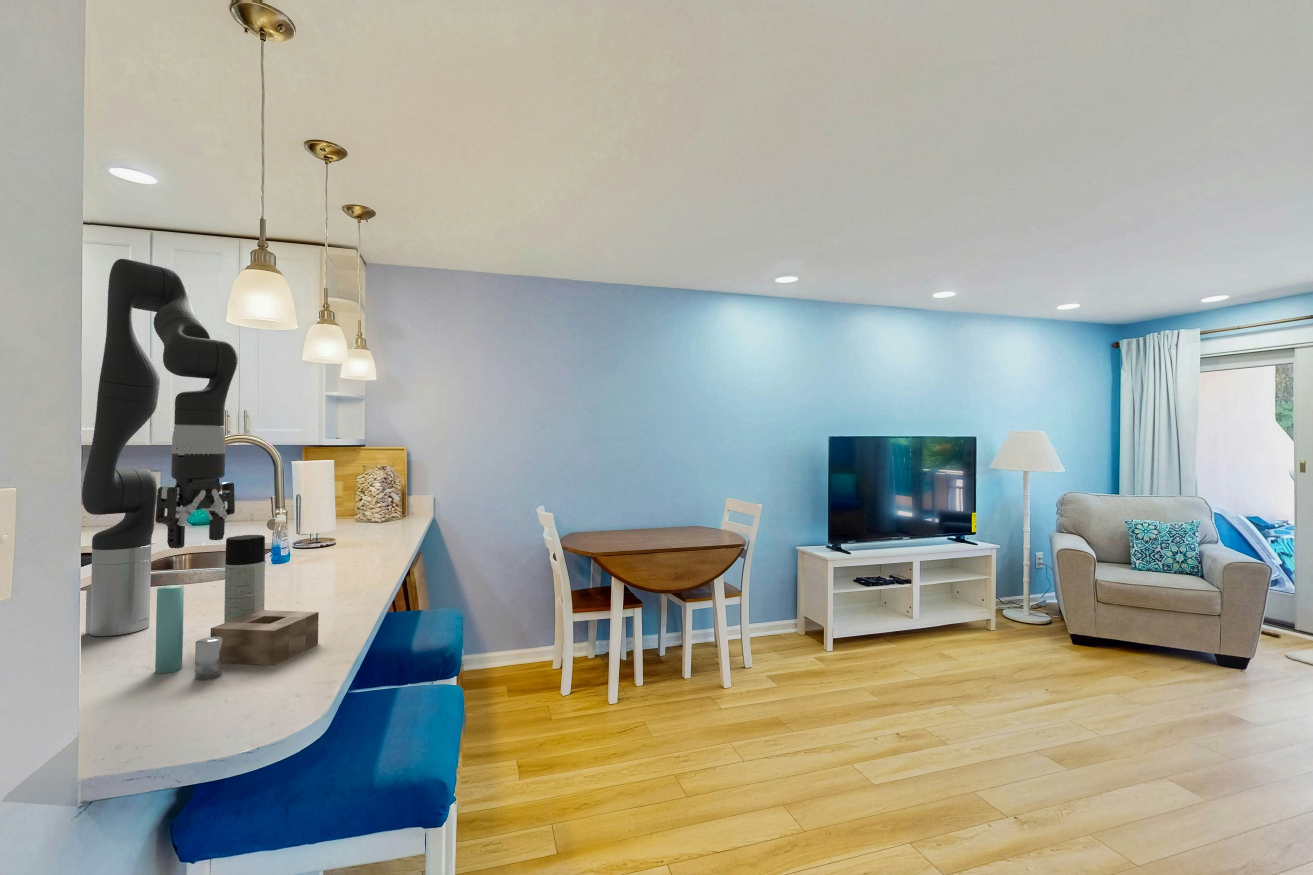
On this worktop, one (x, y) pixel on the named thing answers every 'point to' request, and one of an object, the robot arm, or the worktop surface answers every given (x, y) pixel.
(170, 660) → the long pin
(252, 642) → the socket block
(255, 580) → the spray can
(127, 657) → the worktop surface
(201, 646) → the short pin
